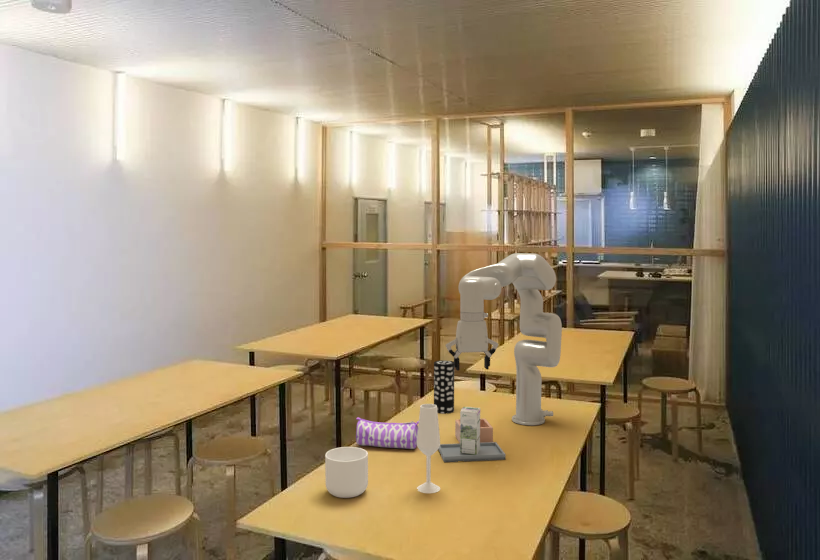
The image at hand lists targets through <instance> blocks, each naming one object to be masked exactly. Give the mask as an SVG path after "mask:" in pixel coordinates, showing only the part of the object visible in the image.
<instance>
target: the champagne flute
mask: <svg viewBox="0 0 820 560" xmlns="http://www.w3.org/2000/svg"><path fill="white" fill-rule="evenodd" d="M419 407H420V408H419V415H418V416H419V417H418V421H419V423H418V424H417V425H418V436H417V446H416V447H417V449H418V450H419V452H421V453H422V454H423V455H425V456H426V457H425V458H426V478H425V479H426V481H425V482H424V483H422V484H420V485H418V486H417V487H416V489H418V490H417V492H420V493H423V494H435V493H437V492H439V491H440V490H441V487H440V486H439V485H437V484H435V483H433V482H432V480H431V472H432V471H431V461H432V460H431V459H432V457H431V456H433V455H434V454H435V453H436V452H437V451H438V449H439V447H440V444H441V437H440V427H439V426H440V424H439V423H440V422H439V413H438V412H437V405H434V403H423V404H420V406H419Z"/></svg>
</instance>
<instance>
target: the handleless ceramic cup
mask: <svg viewBox="0 0 820 560" xmlns="http://www.w3.org/2000/svg"><path fill="white" fill-rule="evenodd" d="M324 455H325V456H324V458H325V461H324V463H325V468H324V469H325V472H324V473H325V488H326V490H327V491H328V494H331V495H332V496H334V497H337V498H341V499H343V498H344V499H349V498H350V499H351V498H354V497H355V498H356V497H358V496H360V495H362V494H363V493H364V492H365V491H366V490H367V488H368V486H369V453H368V451H367V450H366V449H363V448H361V447H355V446H341V447H336V448H332V449H329V450H328V451H326V452H325V454H324Z"/></svg>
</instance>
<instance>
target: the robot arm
mask: <svg viewBox="0 0 820 560" xmlns="http://www.w3.org/2000/svg"><path fill="white" fill-rule="evenodd" d="M556 282H557V275H556V272H555V270H554V268H553V267H552V266H551V265H550V263H549V262H548V261H547V260H546V259H545V258H544V257H543V256H542V255H540V254H538V253H530V252H529V253H525V252H523V253H521V252H520V253H519V252H517V253H516V252H515V253H512V254H509V255H508V256H506V257H505V258H503V259H501V260H500V261H499V262H497V263H495V264H490V265H486V266H485V267H484V266H483V267H480V268H477V269H473V270H471V271H469V272H468V273H466V274H465V275H464V276H462V277H461V278H460V280H459V283H458V293H459V295H460V298H459V299H460V300H459V301H460V307H459V308H460V311H459V312H460V313H459V315H460V320H458V321H457V325H456V330H455V338H454V339H453V340H451V341H449V342H447V343H445V348H446V350H447V351H448V353H449V354H450V355H451V356H452V357H453V362H454V369H455V370H456V371H460V358H459V356H460V355H461V354H462V353H484V354H485V355H484V358H483V360H484V363H483V364H484V365H483V367H484V368H485V370H489V367H491V357H492V356H493V355H494V354H495V353H496V350H497V348H498V347H499V343H498V342H497V341H494V340H492V339H490V338H489V337H488V336H489V335H488V327H487V321H486V320H485V318H488V317H489V313H486V312H485V307H484V306H485V305H484V303H485V301H484V300H487V301H492V300H495V299H497V298H498V297H499V296H500V295H501V293H502V288H503V287H506V286H509V285H511V284H513V286H514V288H515V289H516V291H517V293H518V296H519V299H520V307H519V308H520V310H519V311H520V312H519V331H520V333H521V335H523V336H525V337H526V336H527V337H532V338H533V337H534V338H543V339H546V341H544V340H535V339H521V340H519V341H517V342H516V343H515V345H514V350H513V354H514V361H515V370H516V372H515V374H516V377H515V378H516V382H515V384H516V385H515V386H516V387H515V388H516V390H515V393H516V394H515V395H516V396H515V397H516V398H515V414H514V415H512V417H511V420H512V422H513V423H515V424H518V425H523V426H540V425H542V424H545V422H546V419H545V418H546V417H554V411H553V410H552V411H551V410H550V411H548V410H546V409H545V410H543V409H542V381H543V379H542V373H541V372H540V369H539V368H538V367H541V368H543V367H544V368H555V367H558V365H559V364H560V362H561V361H560V360H561V355H562V354H561V352H562V335H563V334H562V332H563V330H562V329H563V328H562V327H563V324H562V320H561V318H560V316H559V315H558V314H557V313H551V312H544V298H543V296H542V294H541V292H540V291H549V290H553V288H554V287H555V285H556ZM539 290H540V291H539ZM489 344H490V345H491V346H492V347H491V348H490V349H489ZM453 346H455V348H456V349H455V351H454V350H453V349H452V347H453Z"/></svg>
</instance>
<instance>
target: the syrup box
mask: <svg viewBox="0 0 820 560" xmlns="http://www.w3.org/2000/svg"><path fill="white" fill-rule="evenodd" d="M459 411H460V412H459V414H460V415H459V416H460V417H459V419H460V443H459V444H460V453H461V454H470V455H477V454H478V452H479V451H480V419H481V407H474V406H473V407H472V406H463V407H462V408H461V410H459Z"/></svg>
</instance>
